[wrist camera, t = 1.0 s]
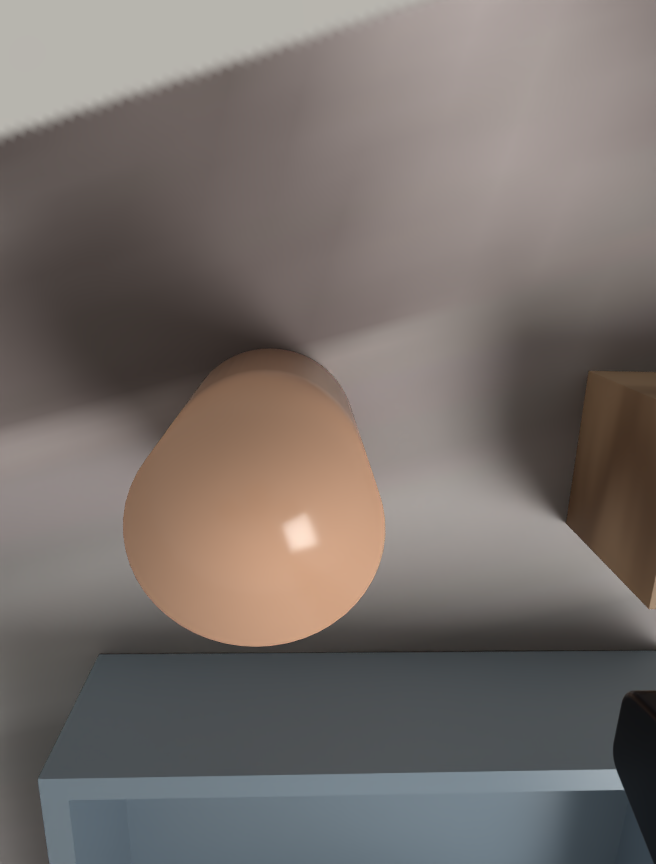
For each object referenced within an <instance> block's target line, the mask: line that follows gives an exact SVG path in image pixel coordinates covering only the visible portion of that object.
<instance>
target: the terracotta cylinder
mask: <svg viewBox="0 0 656 864" xmlns="http://www.w3.org/2000/svg"><path fill="white" fill-rule="evenodd" d="M123 536H124V543H125V549H126V553H127V556H128V560H129V563H130V566H131V568H132V570H133V573H134V575H135V577H136V579H137V581H138V582H139V584H140V585H141V587H142V589H143V590H144V592H145V593H146V594H147V596H148V597H149V598H150V599H151V600H152V602H153V603H154V604H155V605H156V606H157V607H158V608H159V609H160V610H161V611H162V612H164V613H165V614H166V615H167V616H168V617H169V618H171V619H172V620H174V621H175V622H176V623H178V624H179V625H181V626H183V627H184V628H186V629H188V630H190V631H192V632H193V633H196V634H198V635H201V636H203V637H205V638H208V639H211V640H215V641H218V642H222V643H226V644H232V645H238V646H253V647H260V646H274V645H279V644H285V643H290V642H293V641H297V640H300V639H303V638H306V637H308V636H311V635H313V634H315V633H318V632H319V631H321V630H323V629H325V628H326V627H328V626H330V625H332V624H333V623H334V622H336V621H337V620H338V619H340V618H341V617H342V616H344V615H345V614H346V613H347V612H348V611H349V610H350V609H351V608H352V607H353V606H354V605H355V604H356V603H357V602H358V601H359V599H360V598H361V597H362V596H363V594H364V593H365V592H366V590H367V588H368V587H369V585H370V583H371V582H372V580H373V578H374V576H375V574H376V571H377V569H378V567H379V564H380V560H381V557H382V553H383V548H384V541H385V517H384V510H383V504H382V501H381V498H380V495H379V491H378V488H377V485H376V482H375V479H374V476H373V473H372V470H371V467H370V464H369V461H368V458H367V455H366V452H365V449H364V446H363V443H362V440H361V437H360V434H359V431H358V428H357V425H356V422H355V419H354V416H353V413H352V410H351V407H350V404H349V401H348V399H347V396H346V394H345V392H344V390H343V389H342V387H341V386H340V384H339V383H338V381H337V380H336V379H335V378H334V377H333V376H332V374H331V373H329V372H328V371H327V370H326V369H325V368H324V367H323V366H321V365H320V364H318V363H317V362H315V361H314V360H312V359H310V358H308V357H306V356H304V355H301V354H299V353H296V352H293V351H288V350H284V349H273V348H267V349H256V350H251V351H247V352H243V353H240V354H237V355H235V356H233V357H231V358H229V359H227V360H226V361H224V362H223V363H221V364H219V365H218V366H217V367H216V368H215V369H213V370H212V371H211V372H210V373H209V374H208V375H207V377H206V378H205V379H204V380H203V381H202V383H201V384H200V385H199V387H198V388H197V390H196V391H195V392H194V394H193V395H192V396H191V398H190V399H189V401H188V402H187V403H186V405H185V406H184V407H183V409H182V410H181V412H180V413H179V414H178V416H177V417H176V418H175V420H174V421H173V423H172V424H171V425H170V427H169V428H168V429H167V431H166V432H165V434H164V435H163V436H162V438H161V439H160V441H159V442H158V443H157V445H156V446H155V447H154V449H153V450H152V452H151V453H150V454H149V456H148V457H147V458H146V460H145V461H144V463H143V464H142V466H141V467H140V469H139V471H138V472H137V474H136V476H135V478H134V480H133V482H132V485H131V487H130V490H129V493H128V496H127V500H126V503H125V510H124V517H123Z"/></svg>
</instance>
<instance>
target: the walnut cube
mask: <svg viewBox="0 0 656 864" xmlns="http://www.w3.org/2000/svg"><path fill="white" fill-rule="evenodd" d="M566 524H567V525H568V526H569V527H570V528H571V529H572V530H573V531H574V532H575V533H576V534H577V535H578V536H579V537H580V538H581V539H582V540H583V541H584V543H585V544H586V545H587V546H588V547H589V548H590V549H591V550H592V551H593V552H594V553H595V554H596V555H597V556H598V557H599V558H600V559H601V560H602V561H603V562H604V563H605V564H606V565H607V566H608V567H609V568H610V569H611V570H612V571H613V572H614V574H615V575H616V576H617V577H618V578H619V579H620V580H621V581H622V582H623V583H624V584H625V585H626V586H627V587H628V588H629V589H630V590H631V591H632V592H633V593H634V594H635V595H636V596H637V597H638V598H639V599H640V600H641V601H642V602H643V603H644V605H645V606H646V607H647V608H648V609H656V372H627V371H589V372H588V379H587V385H586V392H585V399H584V406H583V412H582V419H581V426H580V432H579V439H578V446H577V453H576V459H575V466H574V473H573V479H572V486H571V493H570V500H569V506H568V513H567V520H566Z"/></svg>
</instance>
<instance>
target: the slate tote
mask: <svg viewBox="0 0 656 864" xmlns="http://www.w3.org/2000/svg"><path fill="white" fill-rule="evenodd" d="M632 690H656V651H522V652H377V653H231V654H99V656H98V658H97V660H96V662H95V664H94V666H93V668H92V670H91V672H90V674H89V676H88V678H87V680H86V682H85V684H84V686H83V688H82V690H81V692H80V694H79V696H78V698H77V700H76V702H75V704H74V706H73V709H72V711H71V713H70V715H69V717H68V719H67V721H66V723H65V725H64V727H63V729H62V731H61V733H60V735H59V737H58V739H57V741H56V743H55V745H54V747H53V749H52V751H51V753H50V755H49V757H48V759H47V761H46V763H45V765H44V767H43V769H42V771H41V773H40V775H39V778H38V785H39V793H40V800H41V807H42V814H43V822H44V829H45V836H46V844H47V851H48V858H49V864H653V861H652V859H651V856H650V854H649V851H648V849H647V846H646V844H645V841H644V839H643V836H642V834H641V831H640V829H639V826H638V824H637V821H636V819H635V816H634V814H633V811H632V808H631V806H630V803H629V801H628V798H627V796H626V793H625V791H624V788H623V786H622V783H621V781H620V778H619V776H618V773H617V770H616V767H615V764H614V759H613V742H614V737H615V732H616V727H617V722H618V717H619V713H620V708H621V703H622V699H623V697H624V696H625V694H626V693H627V692H629V691H632Z"/></svg>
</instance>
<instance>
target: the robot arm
mask: <svg viewBox="0 0 656 864" xmlns="http://www.w3.org/2000/svg"><path fill="white" fill-rule="evenodd" d="M613 759H614V764H615V767H616V770H617V773H618V776H619V778H620V781H621V783H622V786H623V788H624V791H625V793H626V796H627V798H628V801H629V803H630V806H631V808H632V811H633V814H634V816H635V819H636V821H637V824H638V826H639V829H640V831H641V834H642V836H643V839H644V841H645V844H646V846H647V849H648V851H649V854H650V856H651V859H652V861H653V864H656V690H632V691H629V692H627V693H626V694H625V696H624V697H623V699H622V703H621V708H620V713H619V717H618V722H617V727H616V732H615V737H614V742H613Z"/></svg>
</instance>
